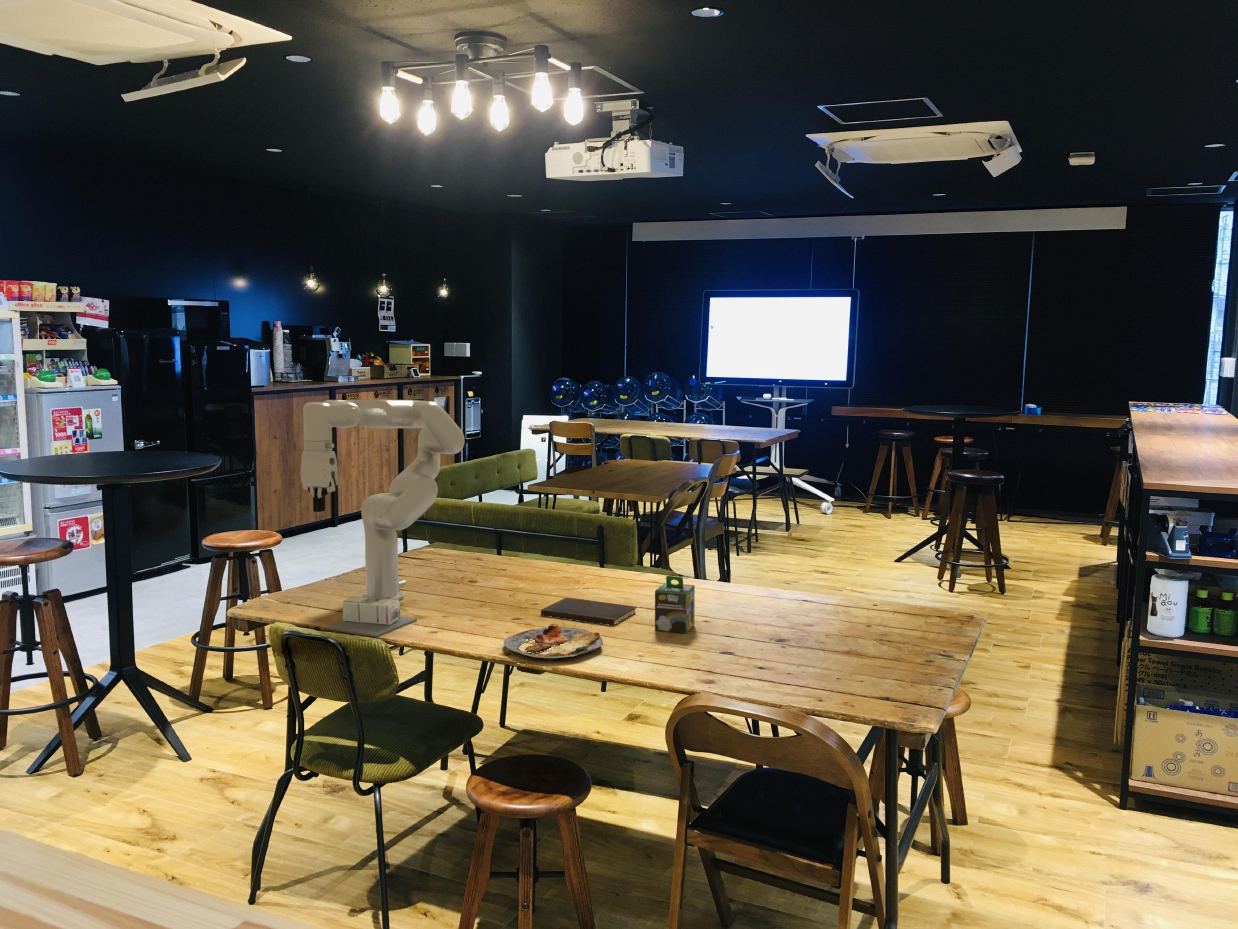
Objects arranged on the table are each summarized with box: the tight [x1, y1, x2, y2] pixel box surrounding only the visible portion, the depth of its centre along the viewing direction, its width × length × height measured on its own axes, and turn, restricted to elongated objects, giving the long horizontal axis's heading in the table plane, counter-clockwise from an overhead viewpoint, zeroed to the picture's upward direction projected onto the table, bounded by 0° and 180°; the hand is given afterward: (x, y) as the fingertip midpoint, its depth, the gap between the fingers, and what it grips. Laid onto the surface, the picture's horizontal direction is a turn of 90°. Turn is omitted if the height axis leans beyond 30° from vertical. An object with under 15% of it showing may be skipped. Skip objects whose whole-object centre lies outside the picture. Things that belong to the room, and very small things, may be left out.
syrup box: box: [342, 596, 401, 625], centre depth 267 cm, size 6×6×14 cm
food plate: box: [503, 624, 604, 661], centre depth 247 cm, size 25×23×4 cm
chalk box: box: [654, 575, 696, 635], centre depth 266 cm, size 9×9×15 cm
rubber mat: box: [327, 615, 418, 638], centre depth 265 cm, size 18×16×1 cm
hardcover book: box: [540, 597, 638, 626], centre depth 280 cm, size 16×23×2 cm
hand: (319, 511), depth 274 cm, fingers closed
